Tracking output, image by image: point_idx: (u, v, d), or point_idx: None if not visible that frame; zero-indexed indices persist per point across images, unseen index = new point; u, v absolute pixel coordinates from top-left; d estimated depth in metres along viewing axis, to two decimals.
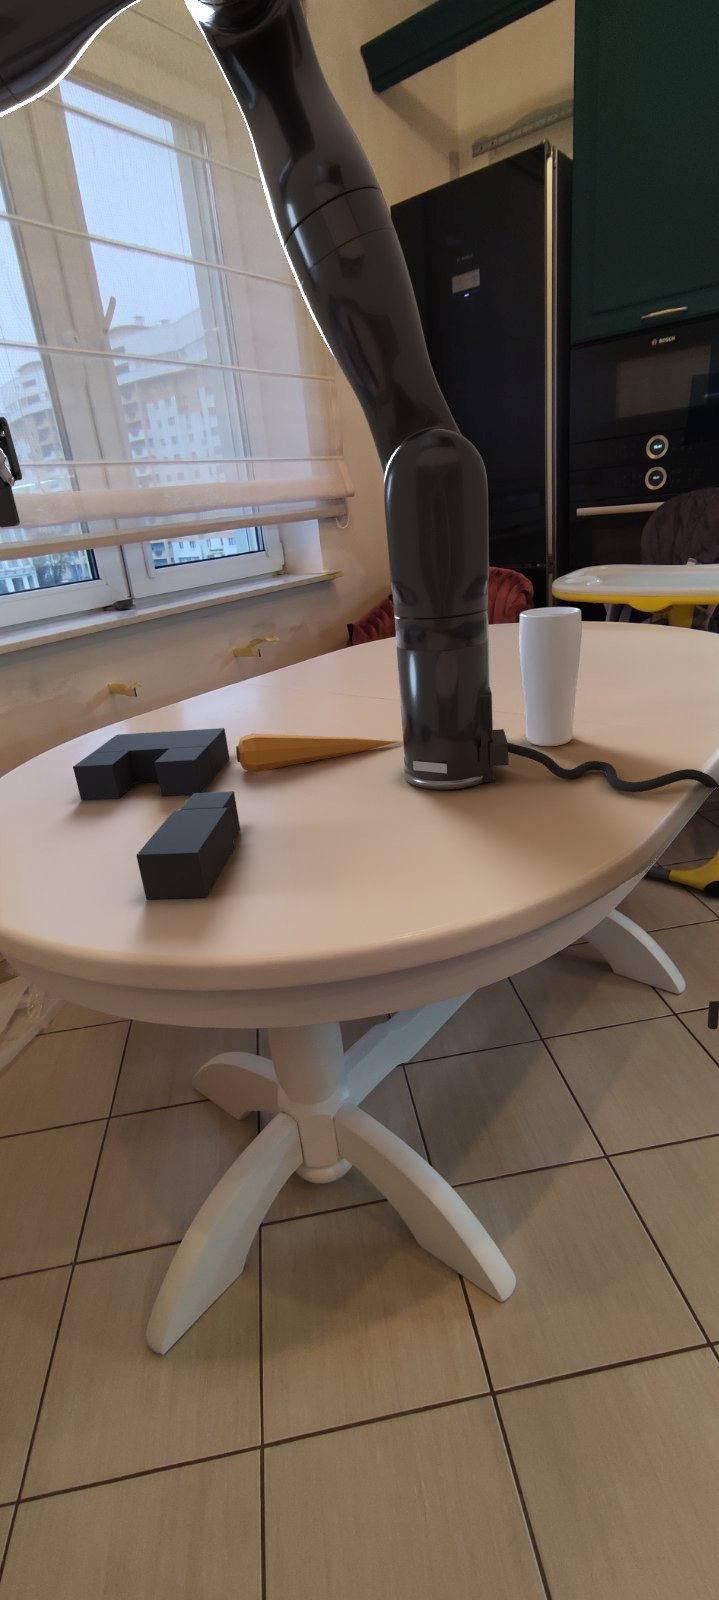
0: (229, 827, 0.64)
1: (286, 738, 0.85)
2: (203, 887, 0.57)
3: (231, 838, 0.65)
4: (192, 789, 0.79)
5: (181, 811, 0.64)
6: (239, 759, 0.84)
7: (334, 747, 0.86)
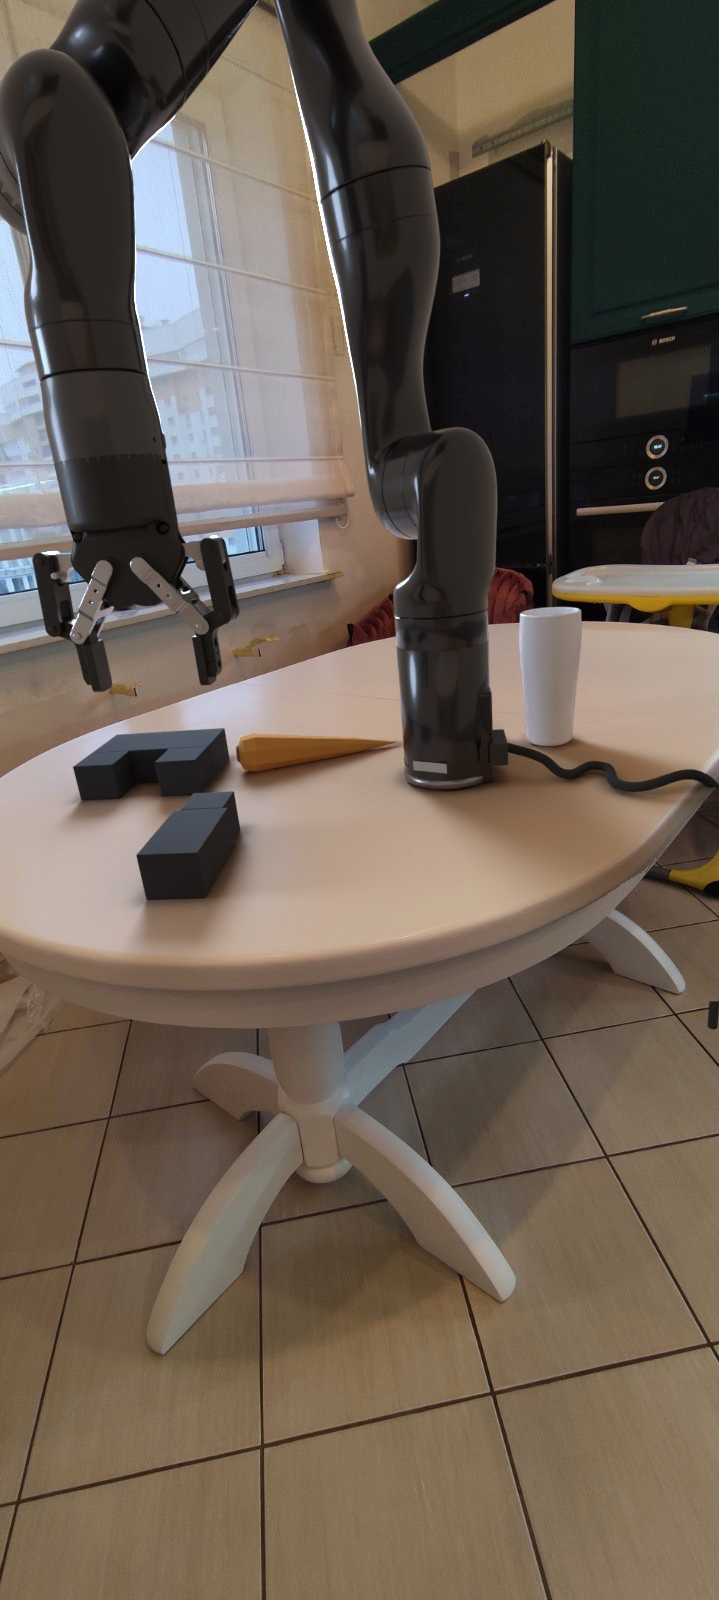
0: (229, 827, 0.64)
1: (286, 738, 0.85)
2: (203, 887, 0.57)
3: (231, 838, 0.65)
4: (192, 789, 0.79)
5: (181, 811, 0.64)
6: (239, 759, 0.84)
7: (334, 747, 0.86)
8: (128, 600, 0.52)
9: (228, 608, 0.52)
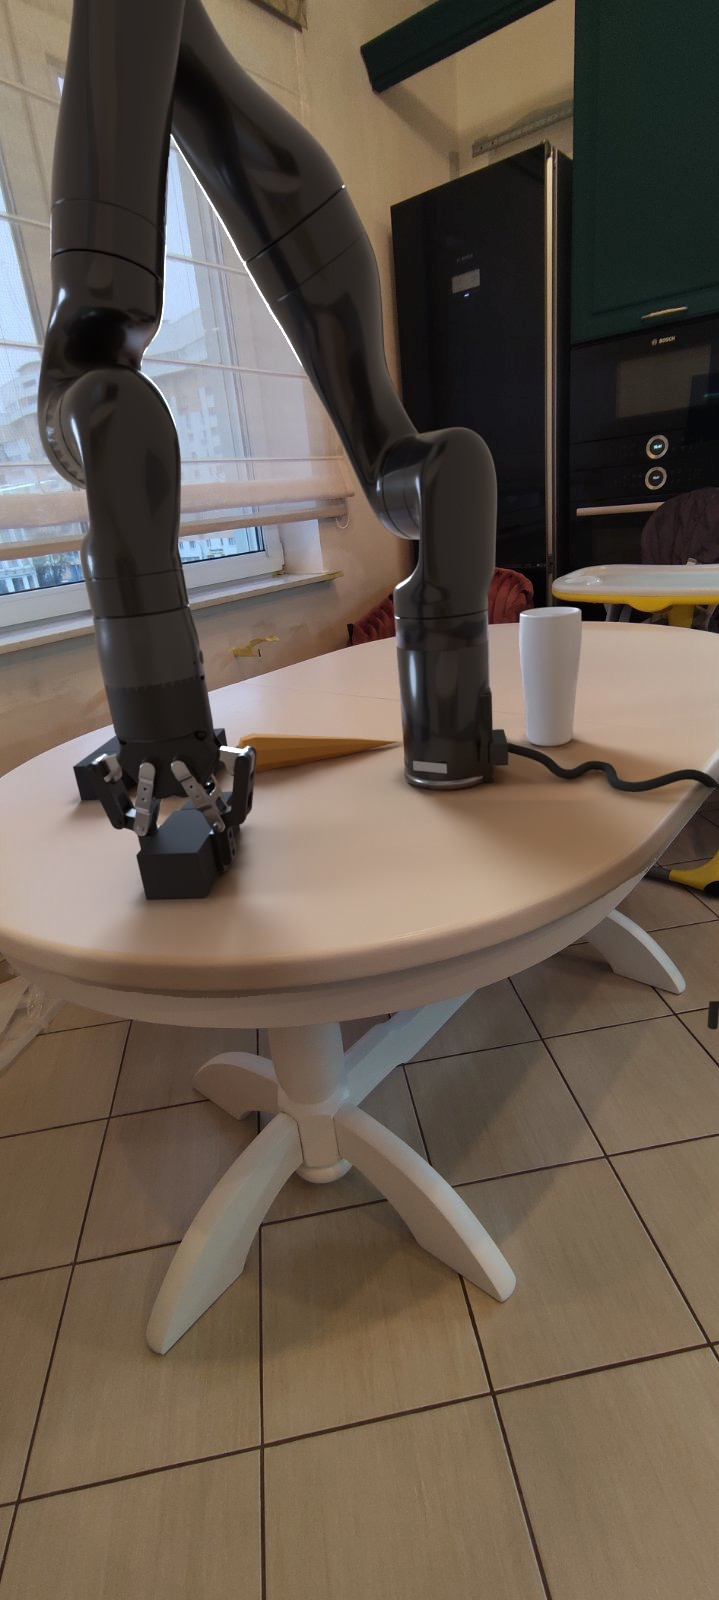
0: None
1: (286, 738, 0.85)
2: (203, 887, 0.57)
3: None
4: None
5: (181, 811, 0.64)
6: None
7: (334, 747, 0.86)
8: (168, 792, 0.58)
9: (244, 813, 0.58)
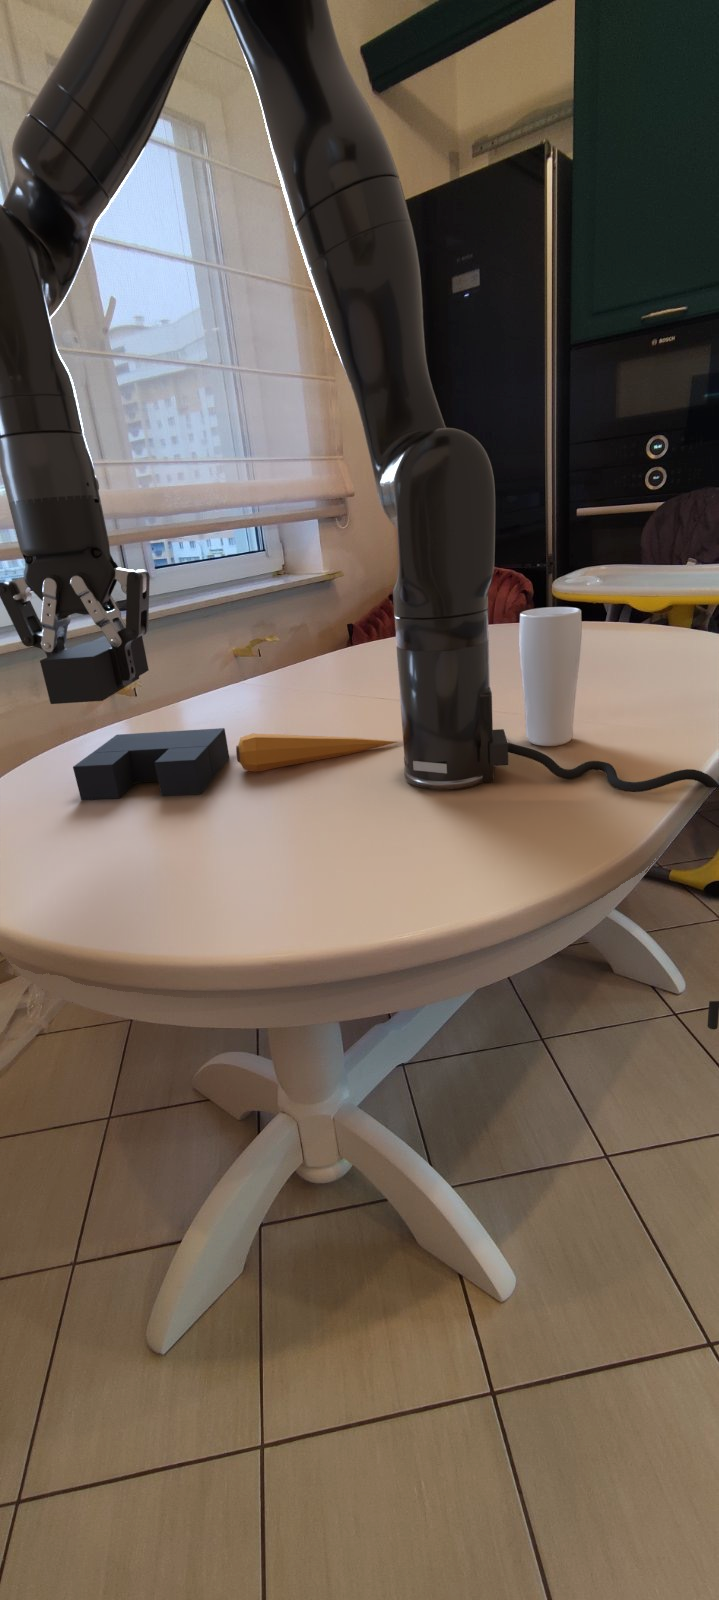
0: (133, 657, 0.72)
1: (286, 738, 0.85)
2: (100, 690, 0.65)
3: (135, 667, 0.72)
4: (192, 789, 0.79)
5: (89, 642, 0.72)
6: (239, 759, 0.84)
7: (334, 747, 0.86)
8: (70, 609, 0.66)
9: (137, 628, 0.66)
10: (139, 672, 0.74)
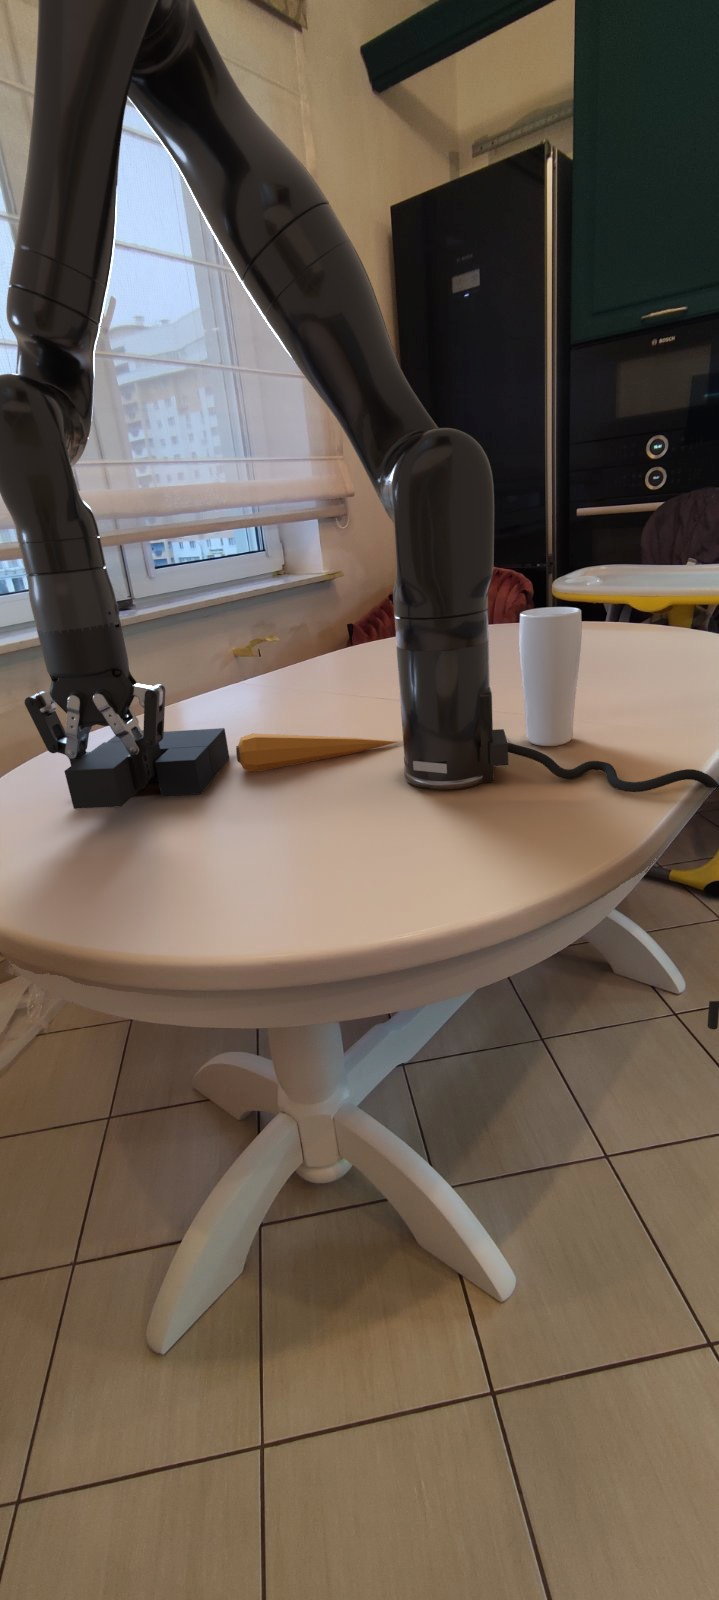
0: (149, 756, 0.77)
1: (286, 738, 0.85)
2: (119, 798, 0.70)
3: (151, 766, 0.78)
4: (192, 789, 0.79)
5: (108, 743, 0.77)
6: (239, 759, 0.84)
7: (334, 747, 0.86)
8: (92, 721, 0.71)
9: (154, 739, 0.71)
10: (154, 767, 0.80)
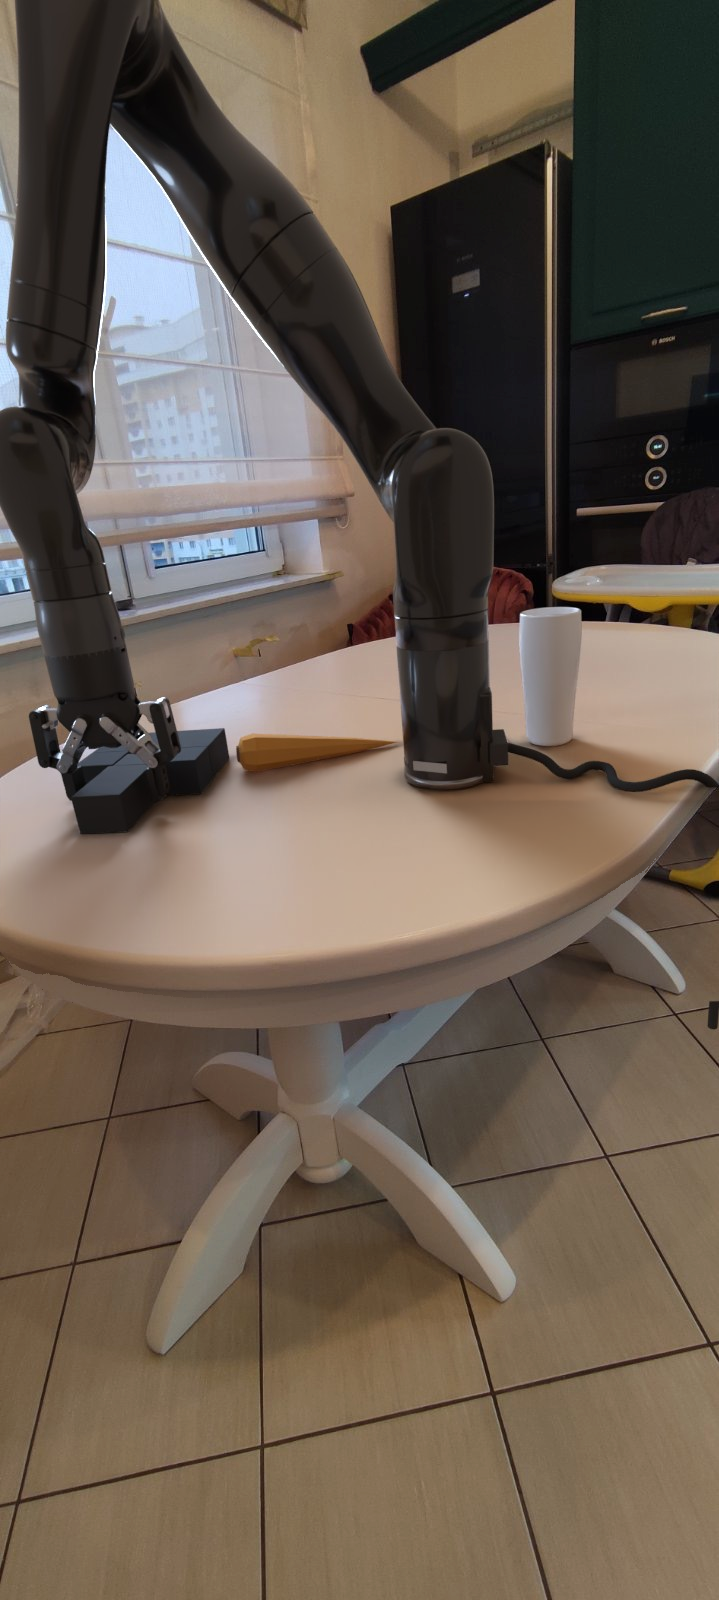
0: None
1: (286, 738, 0.85)
2: (125, 823, 0.71)
3: None
4: (192, 789, 0.79)
5: (113, 767, 0.78)
6: (239, 759, 0.84)
7: (334, 747, 0.86)
8: (98, 743, 0.72)
9: (171, 750, 0.71)
10: None
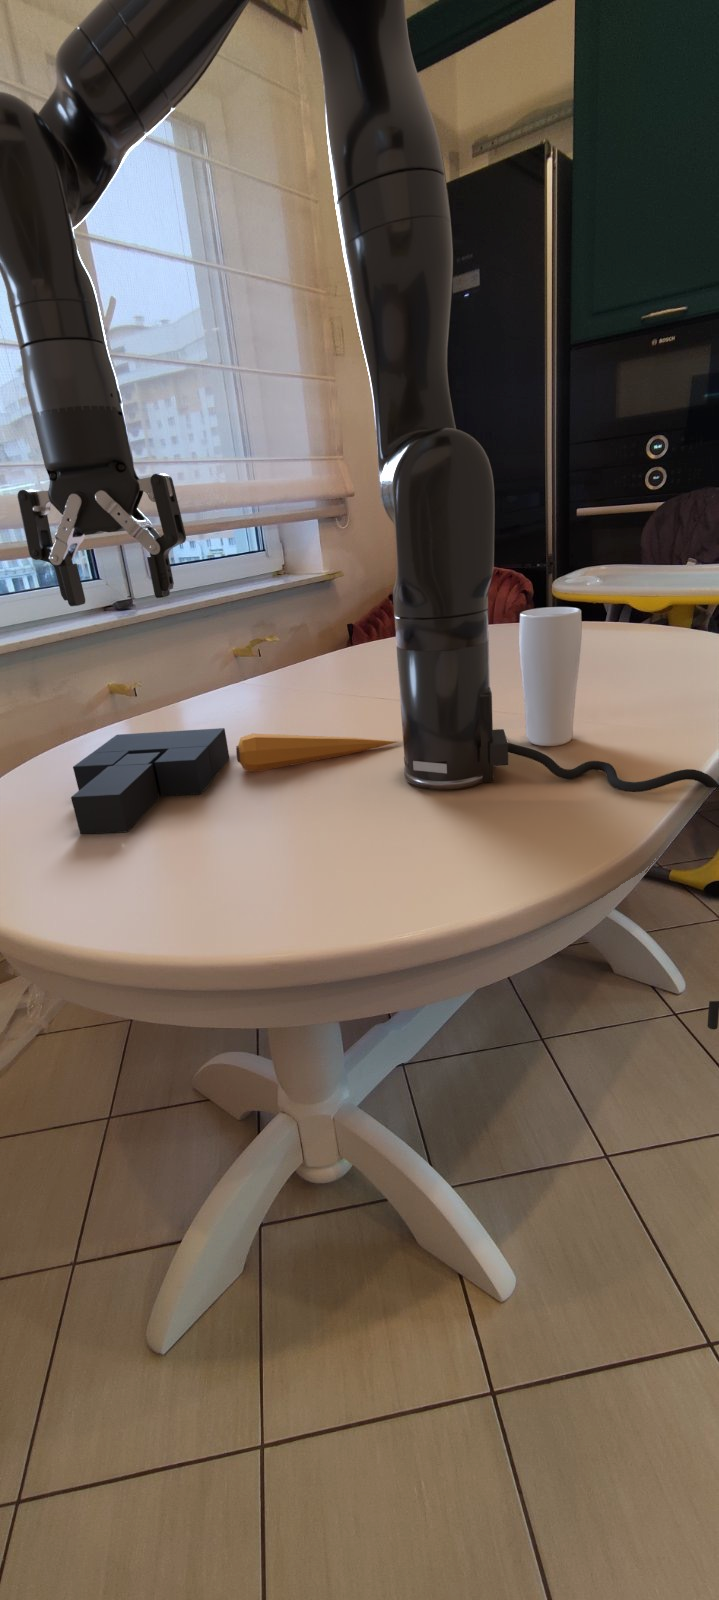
0: (153, 780, 0.78)
1: (286, 738, 0.85)
2: (125, 823, 0.71)
3: (155, 789, 0.79)
4: (192, 789, 0.79)
5: (113, 767, 0.78)
6: (239, 759, 0.84)
7: (334, 747, 0.86)
8: (95, 527, 0.65)
9: (175, 532, 0.65)
10: (158, 790, 0.81)
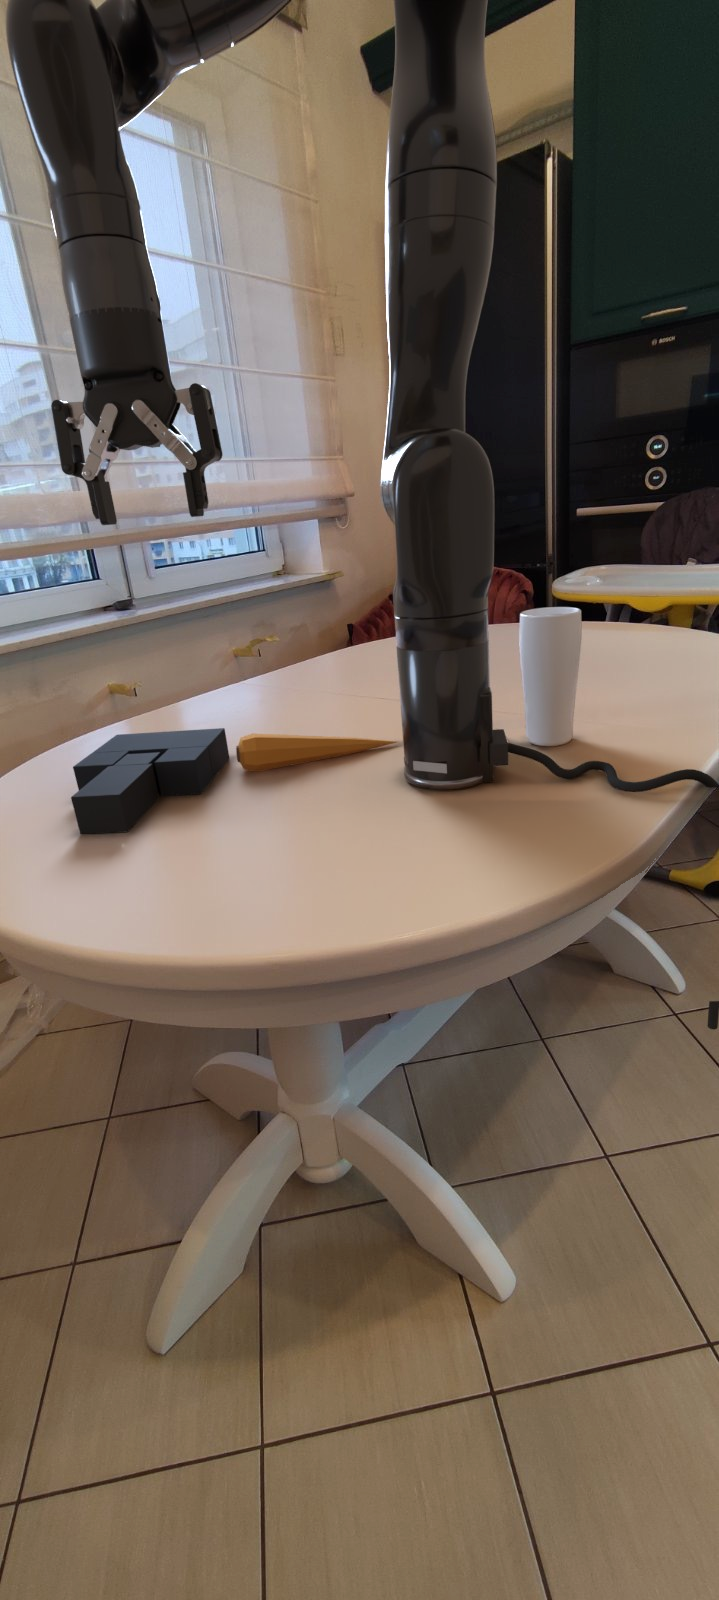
0: (153, 780, 0.78)
1: (286, 738, 0.85)
2: (125, 823, 0.71)
3: (155, 789, 0.79)
4: (192, 789, 0.79)
5: (113, 767, 0.78)
6: (239, 759, 0.84)
7: (334, 747, 0.86)
8: (130, 440, 0.64)
9: (212, 445, 0.63)
10: (158, 790, 0.81)
